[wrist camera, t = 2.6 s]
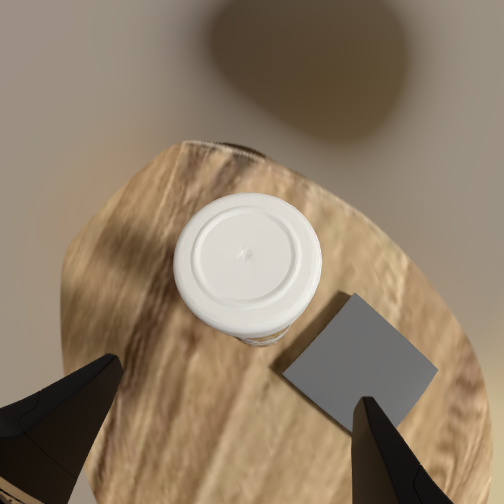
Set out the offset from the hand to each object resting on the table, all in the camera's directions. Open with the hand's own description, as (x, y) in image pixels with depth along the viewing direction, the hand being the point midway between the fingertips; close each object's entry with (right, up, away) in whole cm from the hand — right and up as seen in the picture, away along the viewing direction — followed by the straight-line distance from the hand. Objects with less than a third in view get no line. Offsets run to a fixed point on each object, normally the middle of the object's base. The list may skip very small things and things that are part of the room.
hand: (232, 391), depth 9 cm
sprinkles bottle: (+1, 0, +12) cm, 12 cm away
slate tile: (+9, -5, +9) cm, 14 cm away
